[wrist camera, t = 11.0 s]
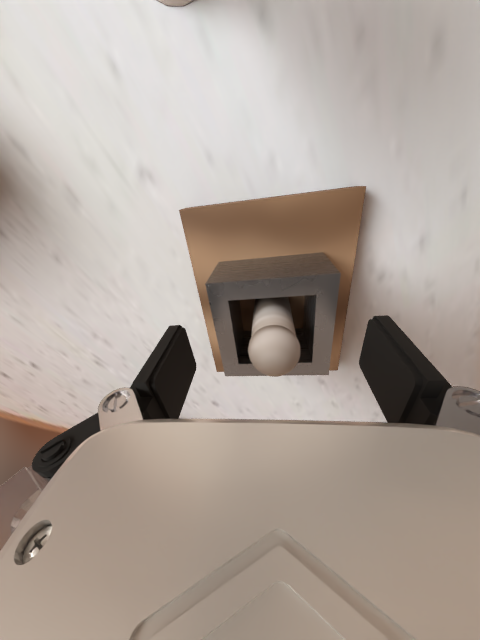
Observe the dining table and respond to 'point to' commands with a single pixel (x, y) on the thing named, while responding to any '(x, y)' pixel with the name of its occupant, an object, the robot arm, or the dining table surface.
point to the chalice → (175, 2)
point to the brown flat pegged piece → (270, 241)
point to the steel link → (269, 282)
